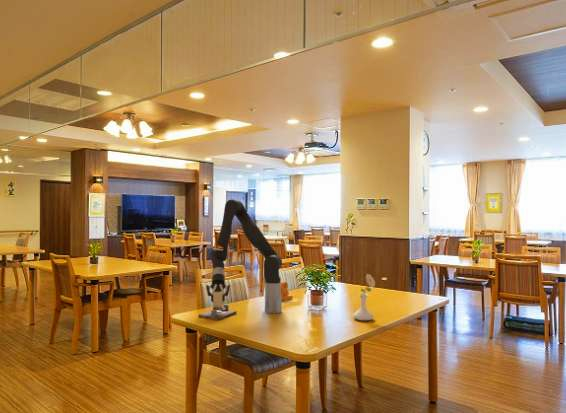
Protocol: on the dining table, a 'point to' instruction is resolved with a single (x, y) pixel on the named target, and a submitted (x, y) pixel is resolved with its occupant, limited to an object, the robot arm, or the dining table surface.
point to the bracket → (285, 291)
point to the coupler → (217, 300)
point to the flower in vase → (363, 312)
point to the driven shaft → (214, 313)
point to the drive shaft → (225, 307)
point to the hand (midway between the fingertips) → (217, 301)
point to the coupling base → (218, 314)
